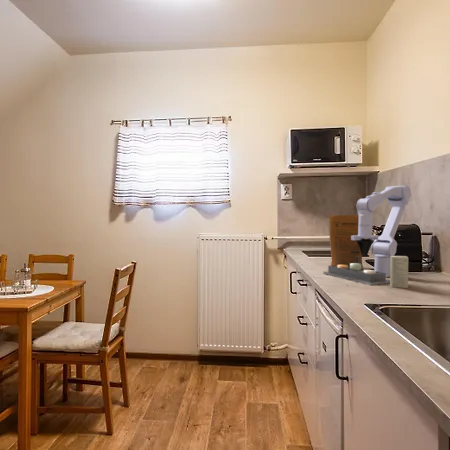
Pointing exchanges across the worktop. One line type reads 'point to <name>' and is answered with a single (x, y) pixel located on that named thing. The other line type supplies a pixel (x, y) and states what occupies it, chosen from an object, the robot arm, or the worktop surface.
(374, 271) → the ivory button
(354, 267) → the sage button
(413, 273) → the worktop surface
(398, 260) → the skincare box
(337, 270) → the button panel
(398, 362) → the worktop surface
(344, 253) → the pancake mix bag
